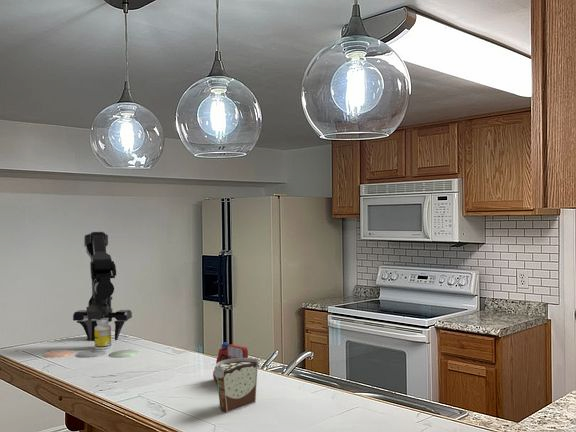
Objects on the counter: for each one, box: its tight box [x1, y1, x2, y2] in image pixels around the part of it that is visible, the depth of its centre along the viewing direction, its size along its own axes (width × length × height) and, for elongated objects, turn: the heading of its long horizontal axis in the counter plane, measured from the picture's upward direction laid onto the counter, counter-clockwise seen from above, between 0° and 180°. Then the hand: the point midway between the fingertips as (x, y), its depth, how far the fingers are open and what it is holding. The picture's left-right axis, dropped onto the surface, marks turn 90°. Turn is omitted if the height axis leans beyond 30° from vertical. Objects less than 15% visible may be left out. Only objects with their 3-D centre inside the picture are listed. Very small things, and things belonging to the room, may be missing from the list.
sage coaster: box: [109, 349, 140, 359], centre depth 193 cm, size 9×9×1 cm
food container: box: [213, 357, 260, 414], centre depth 137 cm, size 12×6×10 cm, turn 141°
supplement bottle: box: [94, 318, 112, 350], centre depth 203 cm, size 5×5×10 cm
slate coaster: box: [76, 349, 107, 359], centre depth 193 cm, size 9×9×1 cm
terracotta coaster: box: [43, 349, 74, 359], centre depth 194 cm, size 9×9×1 cm
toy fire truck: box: [212, 342, 249, 385], centre depth 156 cm, size 7×12×10 cm, turn 41°
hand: (102, 340), depth 203 cm, fingers open, 9 cm apart
